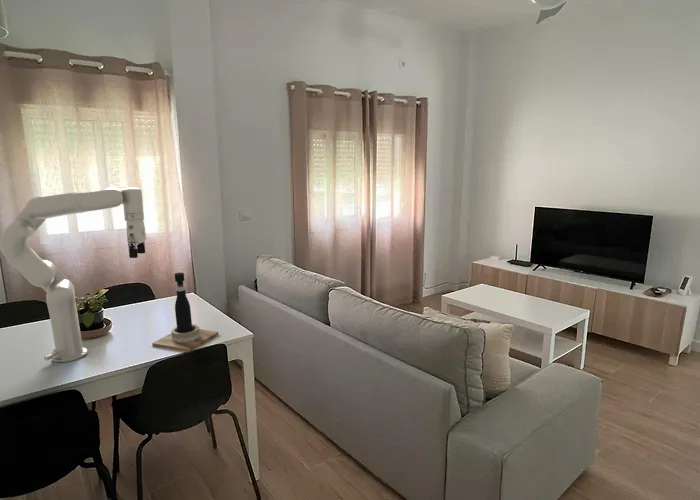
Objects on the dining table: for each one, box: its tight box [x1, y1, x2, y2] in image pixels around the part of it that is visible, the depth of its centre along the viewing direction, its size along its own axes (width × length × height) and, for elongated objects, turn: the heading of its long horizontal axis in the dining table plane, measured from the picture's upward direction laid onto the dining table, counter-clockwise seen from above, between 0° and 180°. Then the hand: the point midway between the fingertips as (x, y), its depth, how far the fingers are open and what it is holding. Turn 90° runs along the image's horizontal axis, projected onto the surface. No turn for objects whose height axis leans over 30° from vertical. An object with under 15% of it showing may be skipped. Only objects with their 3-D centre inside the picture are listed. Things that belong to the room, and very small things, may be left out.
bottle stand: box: [152, 323, 219, 353], centre depth 197 cm, size 20×20×6 cm
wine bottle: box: [174, 272, 193, 333], centre depth 194 cm, size 6×6×30 cm
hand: (137, 255), depth 191 cm, fingers open, 9 cm apart
